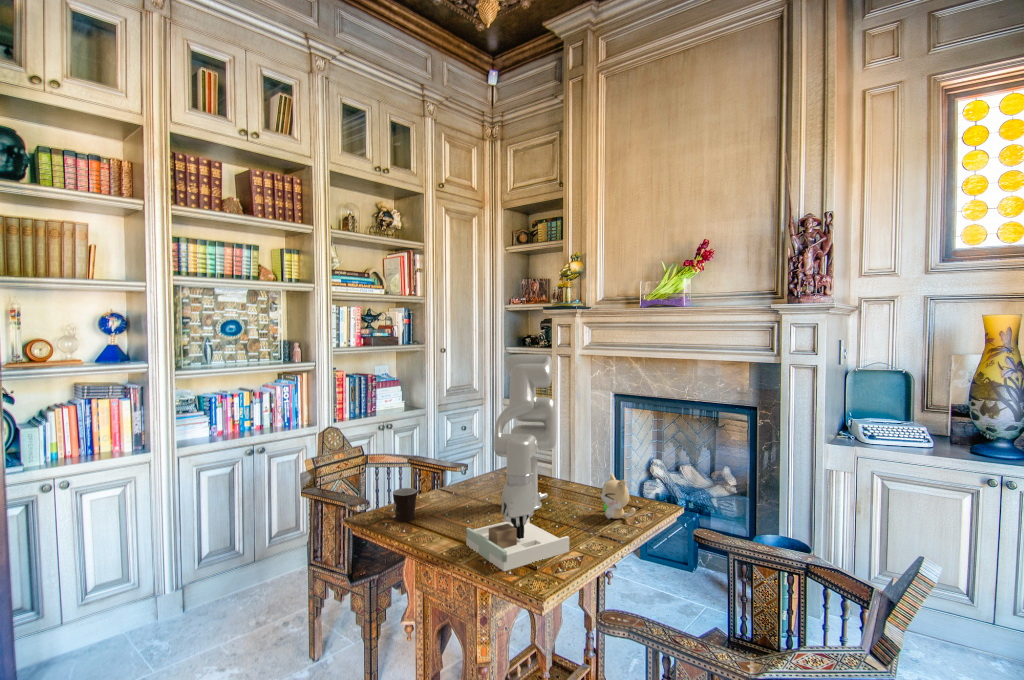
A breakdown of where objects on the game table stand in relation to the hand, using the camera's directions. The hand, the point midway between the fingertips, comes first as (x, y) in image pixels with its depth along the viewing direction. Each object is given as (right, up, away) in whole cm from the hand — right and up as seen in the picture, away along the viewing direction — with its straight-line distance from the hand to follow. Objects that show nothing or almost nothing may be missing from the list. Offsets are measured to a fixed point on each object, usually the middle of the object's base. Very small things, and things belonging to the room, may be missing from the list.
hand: (518, 537), depth 164 cm
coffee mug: (-41, -4, +25) cm, 48 cm away
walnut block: (-5, -1, -3) cm, 6 cm away
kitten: (+35, -3, +27) cm, 45 cm away
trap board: (-1, -4, 0) cm, 3 cm away
